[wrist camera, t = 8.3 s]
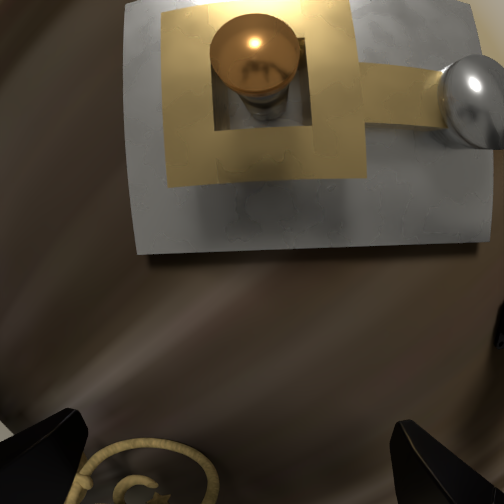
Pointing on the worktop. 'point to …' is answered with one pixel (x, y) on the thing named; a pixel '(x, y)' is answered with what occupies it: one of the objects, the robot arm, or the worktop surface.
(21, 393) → the worktop surface
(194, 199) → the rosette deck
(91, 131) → the worktop surface
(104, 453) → the wall sconce
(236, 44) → the lever with copper knob
